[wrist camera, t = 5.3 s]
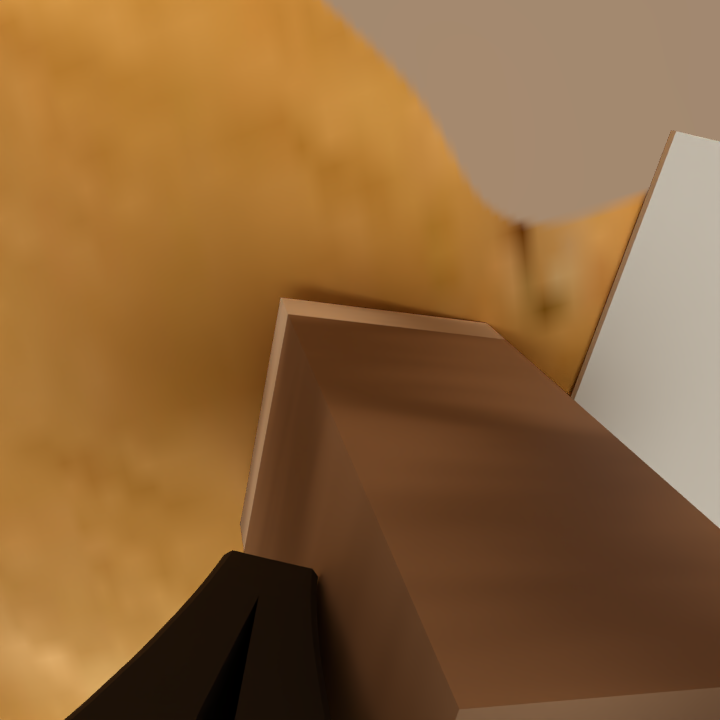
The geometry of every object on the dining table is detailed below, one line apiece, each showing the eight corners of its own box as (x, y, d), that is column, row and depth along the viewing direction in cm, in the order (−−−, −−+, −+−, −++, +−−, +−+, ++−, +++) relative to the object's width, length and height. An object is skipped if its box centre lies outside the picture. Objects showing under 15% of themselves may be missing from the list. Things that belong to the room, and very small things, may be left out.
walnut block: (240, 523, 16) (319, 1076, 8) (280, 297, 14) (459, 708, 5) (423, 526, 18) (665, 984, 9) (486, 323, 16) (884, 672, 7)
